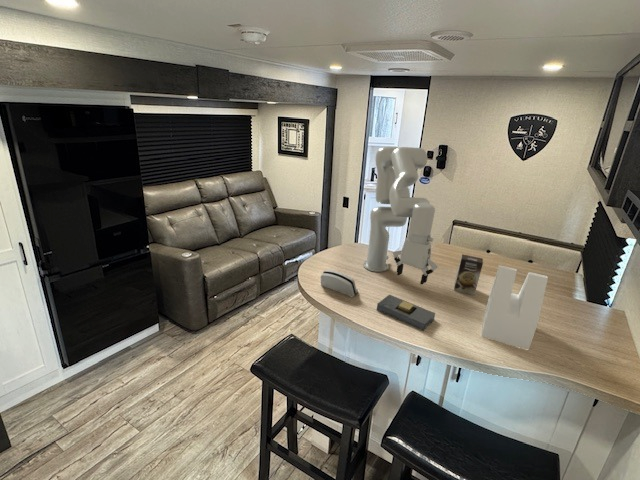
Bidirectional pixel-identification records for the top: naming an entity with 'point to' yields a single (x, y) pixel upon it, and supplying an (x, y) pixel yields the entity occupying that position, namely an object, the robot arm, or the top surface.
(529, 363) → the top surface
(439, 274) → the top surface
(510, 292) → the white slotted block
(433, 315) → the grey square hole block
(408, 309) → the brass cube
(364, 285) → the top surface
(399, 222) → the robot arm
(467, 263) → the coffee box
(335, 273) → the hinge
